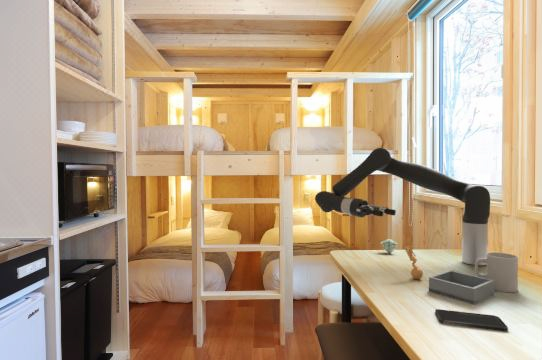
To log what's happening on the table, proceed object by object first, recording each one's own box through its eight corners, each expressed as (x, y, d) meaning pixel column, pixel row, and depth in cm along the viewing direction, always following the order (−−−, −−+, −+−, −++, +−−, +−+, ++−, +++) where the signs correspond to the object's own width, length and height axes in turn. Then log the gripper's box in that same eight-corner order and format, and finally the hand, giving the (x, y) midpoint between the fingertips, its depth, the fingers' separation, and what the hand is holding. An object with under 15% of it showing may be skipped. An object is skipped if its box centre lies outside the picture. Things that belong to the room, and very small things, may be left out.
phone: (509, 329, 79) (439, 320, 83) (509, 333, 79) (439, 324, 83) (497, 315, 86) (434, 308, 91) (497, 320, 86) (434, 312, 91)
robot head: (380, 253, 159) (380, 239, 159) (381, 251, 163) (381, 237, 162) (397, 254, 156) (398, 240, 155) (398, 252, 159) (398, 238, 159)
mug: (514, 286, 111) (514, 253, 111) (520, 294, 104) (521, 259, 104) (473, 281, 117) (473, 250, 116) (476, 288, 109) (476, 255, 109)
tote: (449, 283, 114) (449, 270, 114) (494, 294, 103) (494, 280, 103) (428, 291, 107) (428, 277, 107) (474, 304, 96) (474, 288, 95)
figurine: (421, 283, 115) (421, 248, 114) (402, 280, 118) (402, 246, 118) (424, 276, 122) (424, 244, 122) (407, 274, 125) (407, 242, 125)
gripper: (344, 198, 135) (379, 204, 122) (365, 197, 144) (399, 203, 131) (343, 216, 135) (377, 224, 123) (363, 215, 144) (398, 221, 132)
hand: (389, 213), depth 127 cm, fingers open, 8 cm apart
